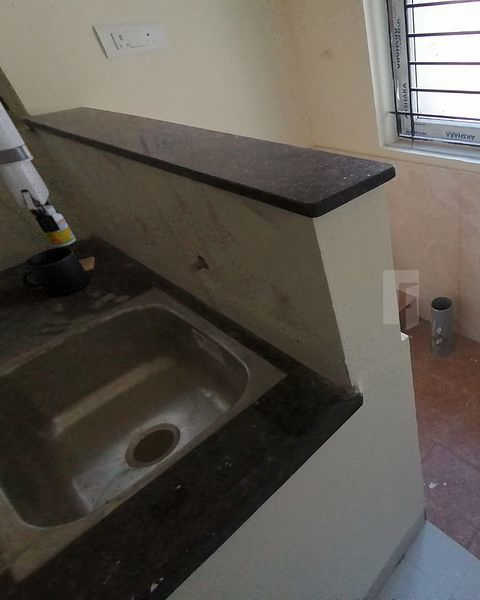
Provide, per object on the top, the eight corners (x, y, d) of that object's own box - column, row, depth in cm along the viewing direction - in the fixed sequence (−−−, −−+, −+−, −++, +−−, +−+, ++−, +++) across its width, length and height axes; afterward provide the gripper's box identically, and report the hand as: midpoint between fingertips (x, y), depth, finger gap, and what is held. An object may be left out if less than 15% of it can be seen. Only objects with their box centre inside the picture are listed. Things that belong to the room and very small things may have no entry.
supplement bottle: (47, 245, 102) (24, 211, 96) (68, 236, 106) (47, 202, 100) (60, 249, 100) (38, 214, 94) (81, 239, 104) (60, 205, 98)
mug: (34, 288, 99) (12, 258, 94) (89, 272, 105) (71, 243, 100) (34, 306, 93) (10, 275, 88) (92, 288, 99) (73, 257, 94)
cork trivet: (63, 277, 104) (61, 275, 103) (65, 265, 108) (64, 263, 108) (93, 269, 106) (92, 267, 106) (94, 258, 111) (93, 256, 111)
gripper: (-4, 148, 93) (40, 218, 104) (-21, 168, 81) (31, 244, 92) (34, 143, 96) (73, 211, 107) (23, 162, 84) (68, 236, 95)
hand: (53, 225), depth 100 cm, fingers closed on supplement bottle, 5 cm apart
